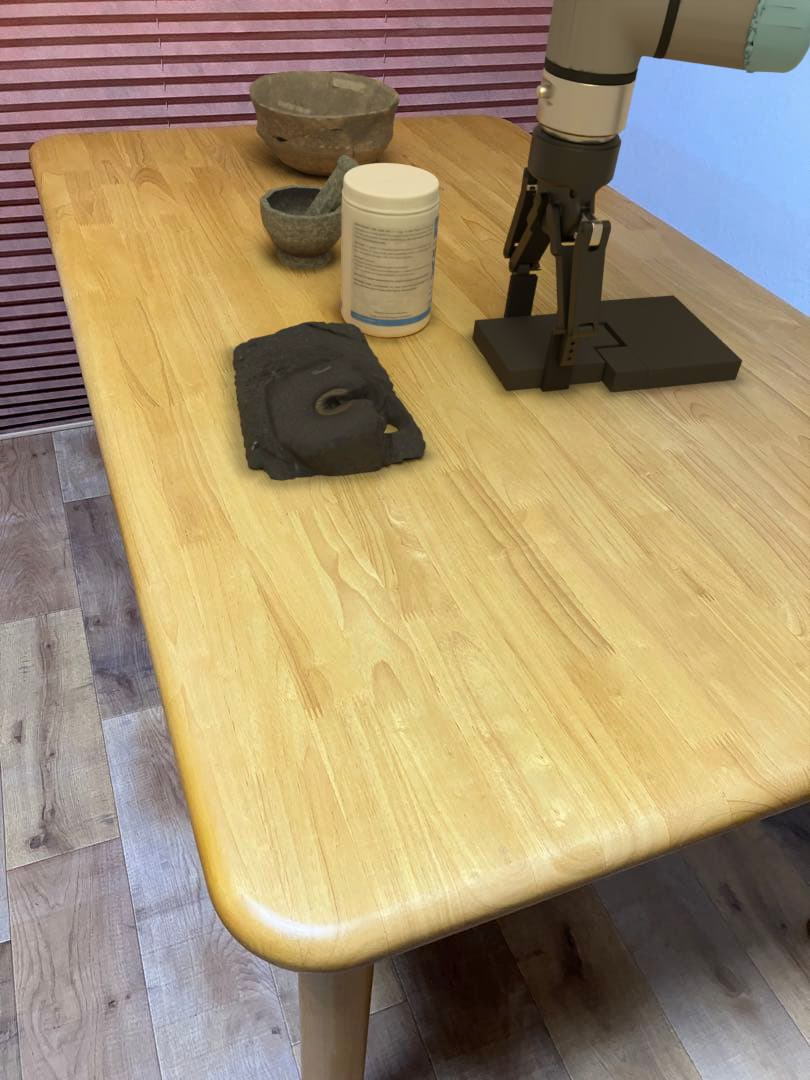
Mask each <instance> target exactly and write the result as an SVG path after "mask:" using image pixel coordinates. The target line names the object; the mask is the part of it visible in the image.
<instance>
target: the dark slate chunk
mask: <svg viewBox="0 0 810 1080" xmlns="http://www.w3.org/2000/svg"><path fill="white" fill-rule="evenodd" d="M232 353H233V354H232V355H233V359H232V365H233V371H235V374H234V376H233V377H234V379H235V380H234V382H233V383H234V386H235V394H236V402H237V405H236V406H237V409H238V412H239V414H238V415H239V420H240V424H239V427H240V429H241V430H240V431H241V436H242V437H243V438H242V439H243V448H244V449H245V459H246V462H247V466H248V467H250V468H253V469H255V470H259V471H261V470H264V471H265V472H266V474H267V475H268V476H269V479H270V480H275V481H281V482H283V481H289V480H290V481H291V480H296V479H303V478H311V477H314V476H327V477H344V476H350V475H351V476H352V475H358V474H365V473H366V474H367V473H373V472H378V471H380V470H381V469H382V468H384V467H386V466H391V465H396V464H398V463H403V462H404V459H413V458H416V457H423V456H424V454H425V450H426V446H427V445H426V444H427V443H426V441H425V439H424V433H423V432H422V430H421V428H420V427H419V426H418V424H417V423H416V421H415V419H414V417H413V415H412V414H411V413H410V412H409V410H408V409H407V407H406V406H405V404H404V403H403V401H402V400H401V399H400V398H399V397H398V396H397V394H396V391H395V390H394V382H392V381H391V379H390V376H389V374H388V372H387V370H386V369H385V368H384V367H383V366H382V364H381V363H380V361H379V357H377V355H375V353H374V352H373V349H372V348H371V347H370V345H369V342H368V339H367V337H366V336H365V333H362V332H361V330H360V329H359V328H358V327H357V326H355V325H353V324H350V323H346V322H343V323H342V322H341V323H340V322H333V321H331V322H329V323H327V322H326V321H315V320H314V321H313V320H311V321H304V322H301V323H299V324H295V325H292V326H287V327H286V328H281V329H279V330H277V331H276V332H275V333H270V334H266V335H262V336H257V337H252V338H249V339H248V340H247V341H244V342H241V343H239V344H238V345H236V346H234V349H233V352H232ZM388 425H389V426H392V427H393V428H396V429H397V431H393V432H386V430H387V428H388Z"/></svg>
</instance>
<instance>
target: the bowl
mask: <svg viewBox="0 0 810 1080" xmlns="http://www.w3.org/2000/svg"><path fill="white" fill-rule="evenodd" d="M248 90H249V98H250V100H251V104H252V106H253V108H254V112H255V117H256V127H255V130H256V133H257V135H258V136H259V137H260V138H261V139H262V141H263V142H264V143H265V145H266V146H267V148H268V149H269V150H270V151H271V153H272V154H274V157H276V158H277V159H278V160H280V161H281V163H283V164H285V165H286V166H289V167H290V168H292V169H294V170H296V171H299V172H301V173H304V174H307V175H312V176H316V177H330V176H331V174H332V173H333V171H334V170H335V168H336V167H337V161H338V159H339V157H340V156H342V155H346V156H349V157H351V158H352V159H354V160H355V161H356V162H357V163H358V164H359V165H360V166H361V165H366V164H373V163H374V162H375V161H376V160H377V159H378V157H379V156H381V155H382V153H384V152H385V150H386V149H388V146H389V145H390V143H391V141H392V140H393V137H394V123H395V117H396V114H397V110H398V108H399V103H400V101H401V98H400V94H399V93H398V92H397V91H396V89H395V88H394V87H392V86H390V85H389V84H387V83H385V82H382V81H379V80H378V79H375V78H372V77H368V76H365V75H361V74H355V73H351V72H350V73H347V72H342V71H341V72H340V71H330V70H306V69H305V70H303V69H302V70H287V71H280V72H275V73H270V74H265V75H262V76H259V77H258V78H257V79H255V80H254V81H253V82H252V83H251V84H250V85H249V88H248Z"/></svg>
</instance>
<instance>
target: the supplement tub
mask: <svg viewBox="0 0 810 1080" xmlns="http://www.w3.org/2000/svg"><path fill="white" fill-rule="evenodd" d="M440 199H441V197H440V180H439V178H437V177H436V175H434V174H433V173H431V172H429V171H428V170H426V169H424V168H420V167H416V166H414V165H409V164H405V163H404V164H403V163H392V162H377V163H376V162H375V163H374V162H373V163H371V164H366V165H361V166H358V167H355V168H352V169H351V170H349V171H348V172H347V173H346V174H345V175H344V180H343V189H342V214H341V237H340V239H341V241H340V243H341V245H340V250H341V251H340V313H341V316H342V319H343V321H344V323H350V324H353V325H355V326H357V327H358V328H359V329H360V330H361V332H362V333H363V334H364V335H368V336H372V337H376V338H377V337H378V338H385V339H386V338H390V339H391V338H402V337H406V336H410V335H413V334H416V333H417V332H419V331H421V330H422V329H423V328H424V327H426V326H427V324H428V323H429V321H430V318H431V311H432V302H433V301H432V300H433V288H434V276H435V266H436V253H437V242H438V241H437V240H438V231H439V217H440V204H441V203H440V201H441V200H440Z"/></svg>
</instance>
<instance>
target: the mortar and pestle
mask: <svg viewBox="0 0 810 1080" xmlns="http://www.w3.org/2000/svg"><path fill="white" fill-rule="evenodd" d="M358 166H360V165H359V164H358V163H357V162H356V161H355V160H354V159H352V158H351V157H349V156H346V155H342V156H340V157H339V159H338V161H337V167H336V168H335V170H334V171H333V173H332V174H331V176H328V179H327V180H326V181H325V183H324V185H323V186H320V185H304V184H303V185H302V184H301V185H300V184H290V185H285V186H280V187H275V188H269V190H268V191H267V192H265V193H264V194H263V195H262V196H261V197H259V213H260V218H261V222H262V223H261V224H262V226H263V227H264V229H265V231H266V233H267V234H268V236H269V238H270V240H271V241H272V243H273V245H274V246H275V247H277V248H278V249H277V258H278V260H279V262H280V263H281V264H282V265H283V266H287V267H289V268H292V269H295V270H316V269H319V268H323V267H326V266H327V265H328V264H329V263H330V261H331V260H332V253H331V250H332V249H333V248H334V247H335V245H336V244H337V243H338V242H339V240H340V239H341V214H342V189H343V180H344V175H345V174H346V173H347V172H348V171H349V170H351V169H352V168H355V167H358Z"/></svg>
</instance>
